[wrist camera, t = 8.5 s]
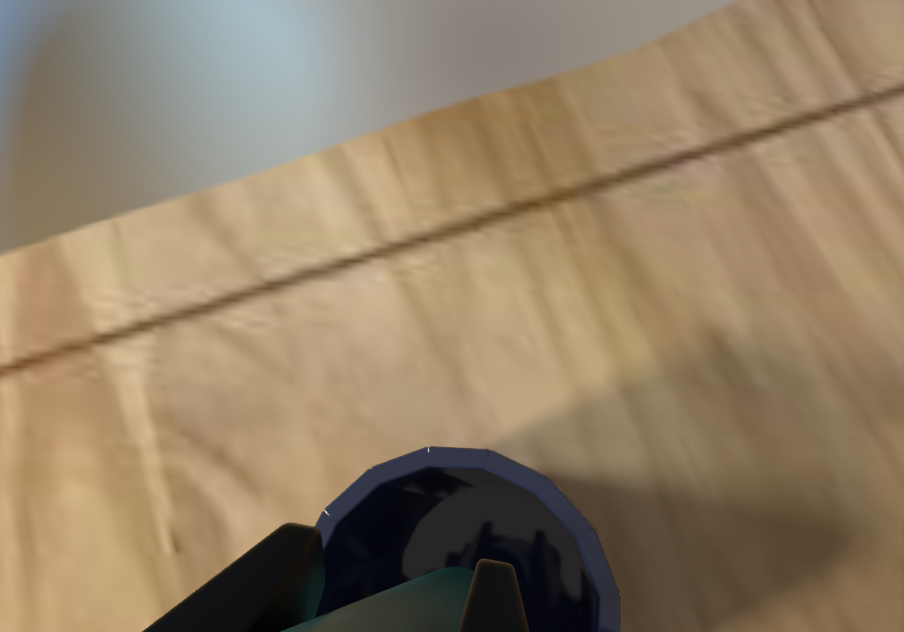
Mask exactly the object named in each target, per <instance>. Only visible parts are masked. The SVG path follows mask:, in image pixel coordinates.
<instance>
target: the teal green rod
mask: <svg viewBox="0 0 904 632" xmlns="http://www.w3.org/2000/svg"><path fill="white" fill-rule="evenodd" d="M473 575H474V571H473V570H471V569H467V568H463V567H445V568H442V569H438V570H436V571H433V572H431V573H428V574H426V575H423V576H421V577H418V578H415V579H413V580H410V581H408V582H405V583H403V584H400V585H398V586H395V587H393V588H390V589H388V590H385V591H382V592H380V593H377V594H375V595H372V596H370V597H367V598H365V599H362V600H360V601H357V602H354V603H352V604H349V605H347V606H344V607H342V608H339V609H337V610H334V611H332V612H329V613H327V614H324V615H321V616H319V617H316V618H314V619H311V620H309V621H306V622H304V623H301V624H299V625H296V626H294V627H291V628H288V629H286V630H283V631H281V632H458V629H459V625H460V622H461V618H462V614H463V611H464V607H465V604H466V600H467V596H468V593H469V589H470V586H471V582H472V578H473Z"/></svg>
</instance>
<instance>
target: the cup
mask: <svg viewBox="0 0 904 632" xmlns="http://www.w3.org/2000/svg"><path fill="white" fill-rule="evenodd" d="M315 527H316V528H318V529H319V530H320V532H321V536H322V545H323V555H324V566H325V584H324V589H323V594H322V597H321V600H320V603H319V606H318V609H317V612H316V615H315V618H316V617H319V616H321V615H324V614H327V613H329V612H332V611H334V610H337V609H339V608H342V607H344V606H347V605H349V604H352V603H354V602H357V601H360V600H362V599H365V598H367V597H370V596H372V595H375V594H377V593H380V592H382V591H385V590H388V589H390V588H393V587H395V586H398V585H400V584H403V583H405V582H408V581H410V580H413V579H415V578H418V577H421V576H423V575H426V574H428V573H431V572H433V571H436V570H438V569H442V568H445V567H463V568H467V569H471V570H473V571H475V568H476V565H477V562H478V561H479V560H481V559H489V560H494V561H500V562H505V563H509V564H511V565H512V566H513V568H514V569H515V573H516V577H517V581H518V586H519V590H520V594H521V598H522V603H523V607H524V611H525V616H526V620H527V624H528V629H529V632H620V595H619V589H618V587H617V584H616V582H615V579H614V577H613V574H612V571H611V569H610V566H609V564H608V561H607V558H606V556H605V553H604V551H603V548H602V546H601V543H600V540H599V538H598V535H597V533H596V530H595V529H594V528H593V525H592V524H591V523H590V522H589V521H588V520H587V519H586V518H585V517H584V515H583V514H582V513H581V512H580V511H579V510H578V509H577V508H576V507H575V506H574V505H573V503H572V502H571V501H570V500H569V499H568V498H567V497H566V496H565V495H564V494H563V492H562V491H561V490H560V489H559V488H558V487H557V486H556V485H555V484H554V483H553V482H552V480H551V479H549V478H547V476H545V475H543V474H541V473H539V472H537V471H535V470H533V469H531V468H529V467H526V466H524V465H522V464H520V463H518V462H516V461H514V460H512V459H510V458H508V457H506V456H503V455H501V454H499V453H497V452H495V451H493V450H489V449H476V448H456V447H436V446H430V447H429V448H428V447H424V448H422V449H419V450H416V451H413V452H411V453H408V454H405V455H402V456H400V457H397V458H394V459H392V460H389V461H386V462H383V463H381V464H378V465H375V466H372V467H371V469H368V470H367V471H366V472H364V473H363V474H362V475H361V476H360V477H359V478H358V479H357V480H356V481H355V482H353V483H352V484H351V485H350V486H349V487H348V488H347V489H346V490H345V491H344V492H342V493H341V494H340V495H339V496H338V497H337V498H336V499H335V500H334V501H333V502H331V503H330V504H329V505H328V506H327V507H326V508H325V509H324V511H323V512H322V513H321V515H320V517H319V519H318V521H317V523H316V525H315Z"/></svg>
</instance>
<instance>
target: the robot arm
mask: <svg viewBox="0 0 904 632" xmlns="http://www.w3.org/2000/svg"><path fill="white" fill-rule="evenodd" d="M324 584H325V566H324V555H323V545H322V536H321V532H320V530H319V529H318V528H316V527H313V526H308V525H303V524H297V523H286V524H284V525H282V526H280V527H279V528H278V529H276V530H275V531H274V532H272V533H271V534H270V535H268V536H267V537H266V538H264V539H263V540H262V541H261V542H259V543H258V544H257V545H255V546H254V547H253V548H251V549H250V550H249V551H247V552H246V553H245V554H243V555H242V556H241V557H240V558H238V559H237V560H236V561H234V562H233V563H232V564H230V565H229V566H228V567H226V568H225V569H224V570H222V571H221V572H220V573H219V574H217V575H216V576H215V577H213V578H212V579H211V580H209V581H208V582H207V583H205V584H204V585H203V586H201V587H200V588H199V589H198V590H196V591H195V592H194V593H192V594H191V595H190V596H188V597H187V598H186V599H184V600H183V601H182V602H180V603H179V604H178V605H177V606H175V607H174V608H173V609H171V610H170V611H169V612H167V613H166V614H165V615H163V616H162V617H161V618H159V619H158V620H157V621H156V622H154V623H153V624H152V625H150V626H149V627H148V628H146V629H145V630H144V631H142V632H281V631H283V630H286V629H288V628H291V627H294V626H296V625H299V624H301V623H304V622H306V621H309V620H311V619H314V618H315V615H316V612H317V609H318V606H319V603H320V600H321V597H322V594H323V589H324ZM458 632H529V629H528V624H527V620H526V616H525V611H524V607H523V603H522V598H521V594H520V590H519V586H518V581H517V577H516V573H515V569H514V568H513V566H512V565H511V564H509V563H505V562H500V561H494V560H489V559H481V560H479V561H478V562H477V565H476V568H475V571H474V575H473V578H472V582H471V586H470V589H469V593H468V596H467V600H466V604H465V607H464V611H463V614H462V618H461V622H460V625H459V629H458Z"/></svg>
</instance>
